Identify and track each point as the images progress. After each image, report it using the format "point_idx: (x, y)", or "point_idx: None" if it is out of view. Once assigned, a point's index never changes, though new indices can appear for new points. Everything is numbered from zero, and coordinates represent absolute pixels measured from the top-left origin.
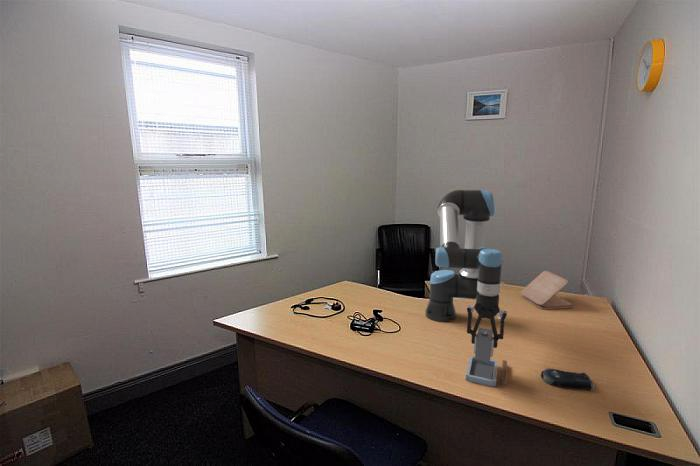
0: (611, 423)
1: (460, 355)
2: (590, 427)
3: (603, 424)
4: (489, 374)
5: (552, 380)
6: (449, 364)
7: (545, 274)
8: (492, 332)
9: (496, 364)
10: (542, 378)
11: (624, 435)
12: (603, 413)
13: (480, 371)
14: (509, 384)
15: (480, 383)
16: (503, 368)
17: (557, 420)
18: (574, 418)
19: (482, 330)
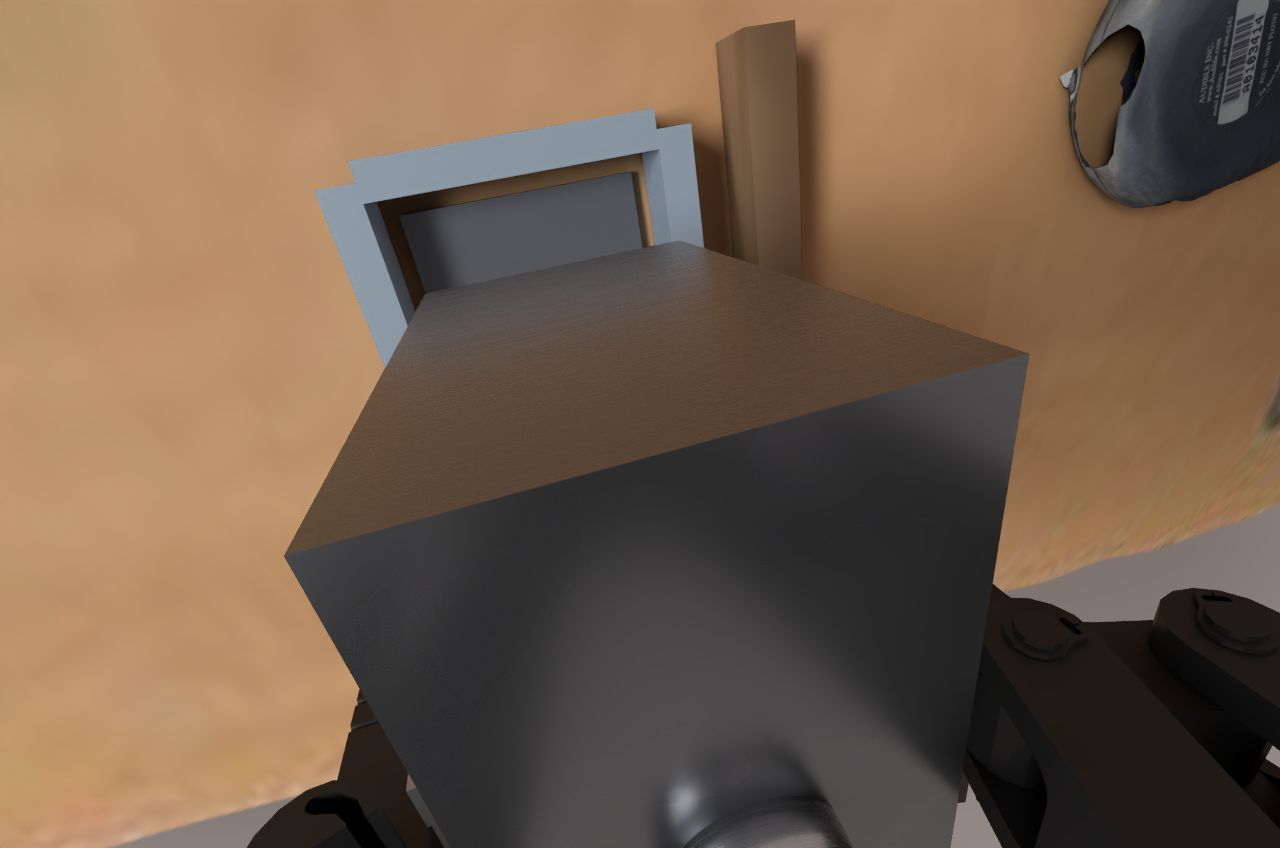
0: (1265, 417)
1: (124, 100)
2: (1157, 512)
3: (1225, 450)
4: None
5: (1160, 196)
6: (179, 434)
7: None
8: (979, 622)
9: (690, 213)
10: (1073, 131)
11: (1269, 472)
12: (1276, 350)
13: None
14: None
15: None
16: (770, 257)
17: (1031, 563)
18: (1114, 494)
19: (610, 735)
